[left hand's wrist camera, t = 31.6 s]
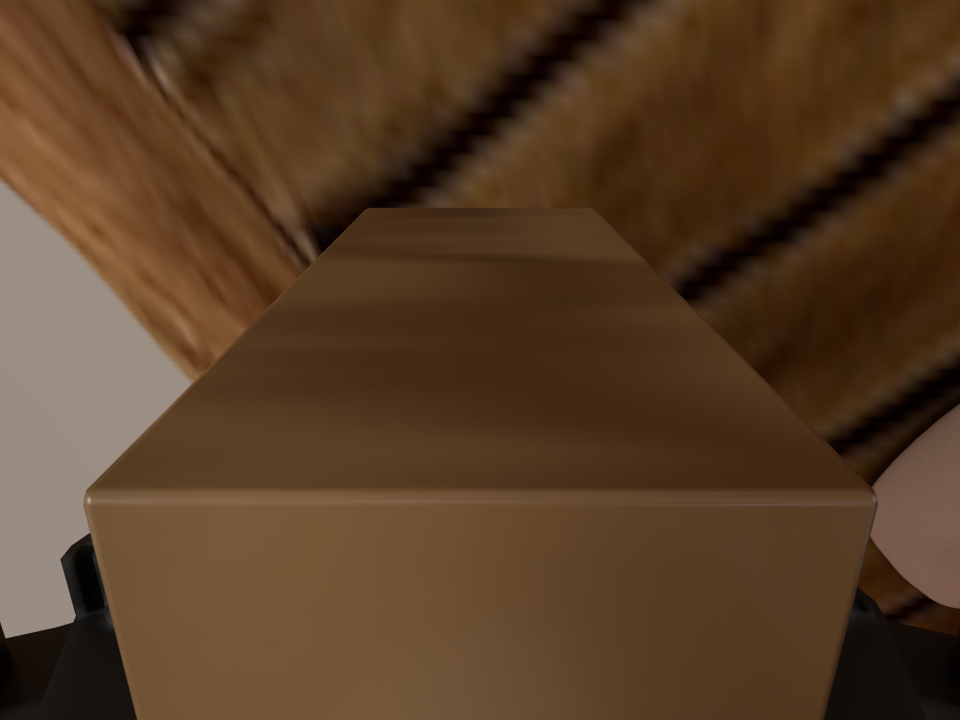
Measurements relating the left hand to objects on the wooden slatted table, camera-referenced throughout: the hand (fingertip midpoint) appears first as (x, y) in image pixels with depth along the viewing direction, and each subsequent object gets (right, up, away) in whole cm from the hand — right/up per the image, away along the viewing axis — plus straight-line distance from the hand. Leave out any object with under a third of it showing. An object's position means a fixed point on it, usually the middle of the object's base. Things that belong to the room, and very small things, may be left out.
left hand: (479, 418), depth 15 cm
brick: (0, +1, +2) cm, 2 cm away
